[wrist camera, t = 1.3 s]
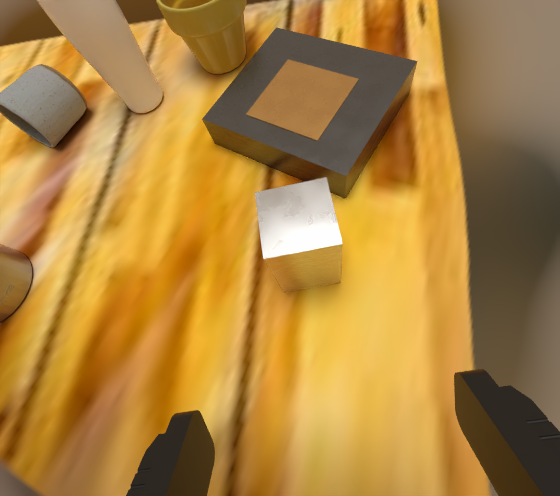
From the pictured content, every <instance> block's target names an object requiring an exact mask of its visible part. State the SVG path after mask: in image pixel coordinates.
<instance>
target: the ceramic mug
mask: <svg viewBox="0 0 560 496" xmlns="http://www.w3.org/2000/svg"><path fill="white" fill-rule="evenodd" d="M86 108H87V103H86V100H85V98H84V96H83V95H82V93H81V92H80V91H79V90H78V88H77V87H76V86H75V85H74V84H73V83H72V82H71V81H70V80H68V79H67V78H66V77H65V76H64V75H62V74H61V73H60V72H58V71H57V70H55V69H53V68H52V67H49V66H47V65H42V64H41V65H37V66H35V67H33V68H31V69H29V70H28V71H26V72H25V73H24V74H23V75H22V76H21V77H20V78H18V79H17V80H16V81H15V82H13V83H12V84H11V85H10V86H8V87H7V88H6V89H4V90H3V91H2V92H1V93H0V113H1V114H2V115H4V116H5V117H6V118H7V119H8V120H9V121H11V122H12V123H13V124H15V125H16V126H17V127H19V128H20V129H21V130H23V131H24V132H25V133H27V134H28V135H30V136H31V137H33V138H34V139H36V140H37V141H39V142H41V143H43V144H44V145H46V146H49V147H55V146H56V145H57V144H58V143H59V142H60V140H61V139H62V138H63V137H64V136H65V135H66V134H67V133H68V131H69V130H70V129H71V127H72V126H73V125H74V124H75V123H76V122H77V121H78V120H79V119H80V118H81V116H82V115H83V114H84V112H85V110H86Z"/></svg>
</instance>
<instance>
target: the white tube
mask: <svg viewBox="0 0 560 496" xmlns="http://www.w3.org/2000/svg"><path fill="white" fill-rule="evenodd" d="M37 2H38V3H39V4H40V6H41V7H42V8H43V10H44V11H45V12H46V14H47V15H48V16H49V18H50V19H51V20H52V21H53V23H54V24H55V25H56V26H57V27H58V29H59V30H60V31H61V33H62V34H63V35H64V36H65V37H66V38H67V40H68V41H69V42H70V43H71V44H72V45H73V46H74V47H75V49H76V50H77V51H78V52H79V53H80V54H81V55H82V56H83V57H84V58H85V59H86V61H87V62H88V63H89V64H90V65H91V66H92V67H93V68H94V69H95V70H96V71H97V72H98V74H99V75H100V76H101V77H102V78H103V79H104V80H105V81H106V82H107V83H108V85H109V86H110V87H111V88H112V89H113V90H114V91H115V92H116V93H117V94H118V96H119V97H120V98H121V99H122V100H123V102H124V103H125V104H126V105H127V107H128V108H129V109H130V110H132V111H133V112H136V113H146V112H149V111H151V110H153V109H154V108H156V107H157V106H158V105H159V104H160V102H161V100H162V97H163V91H162V88H161V87H160V85H159V83H158V82H157V80H156V78H155V76H154V74H153V73H152V71H151V69H150V67H149V65H148V63H147V61H146V59H145V57H144V55H143V53H142V51H141V49H140V47H139V45H138V43H137V41H136V39H135V37H134V35H133V33H132V31H131V29H130V27H129V25H128V23H127V21H126V19H125V17H124V15H123V13H122V11H121V9H120V8H119V6H118V4H117V2H116V0H37Z"/></svg>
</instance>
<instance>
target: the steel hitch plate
mask: <svg viewBox="0 0 560 496" xmlns="http://www.w3.org/2000/svg"><path fill="white" fill-rule="evenodd" d="M416 64H417V61H414V60H410V59H405V58H401V57H397V56H393V55H389V54H384V53H380V52H376V51H372V50H368V49H364V48H359V47H355V46H351V45H347V44H343V43H339V42H334V41H330V40H326V39H322V38H318V37H313V36H309V35H305V34H301V33H297V32H293V31H288V30H284V29H280V28H276V29H275V30H274V31H273V32H272V34H271V35H270V36H269V37H268V39H267V40H266V41H265V42H264V43H263V45H262V46H261V47H260V48H259V50H258V51H257V52H256V53H255V55H254V56H253V57H252V58H251V60H250V61H249V62H248V63H247V64H246V66H245V67H244V68H243V69H242V71H241V72H240V73H239V74H238V76H237V77H236V78H235V79H234V81H233V82H232V83H231V84H230V85H229V87H228V88H227V89H226V90H225V92H224V93H223V94H222V95H221V97H220V98H219V99H218V100H217V101H216V103H215V104H214V105H213V106H212V108H211V109H210V110H209V111H208V113H207V114H206V115H205V116H204V118H203V119H202V120H203V122H204V124H205V125H206V127H207V129H208V131H209V133H210V135H211V137H212V139H213V141H214V143H215V144H218V145H220V146H223V147H225V148H227V149H230V150H232V151H234V152H237V153H239V154H242V155H244V156H246V157H249V158H251V159H253V160H256V161H258V162H261V163H263V164H265V165H268V166H270V167H272V168H275V169H277V170H279V171H282V172H284V173H287V174H289V175H291V176H294V177H296V178H298V179H301V180H303V181H311V180H316V179H320V178H325V177H327V181H328V186H329V190H330V192H332V193H334V194H336V195H339V196H341V197H344V198H346V197H347V195H348V193H349V192H350V190H351V188H352V187H353V185H354V183H355V182H356V180H357V178H358V177H359V175H360V173H361V172H362V170H363V168H364V167H365V165H366V163H367V162H368V160H369V159H370V157H371V155H372V154H373V152H374V150H375V149H376V147H377V145H378V144H379V142H380V140H381V139H382V137H383V135H384V134H385V132H386V130H387V129H388V127H389V125H390V124H391V122H392V120H393V119H394V117H395V116H396V114H397V112H398V111H399V109H400V107H401V106H402V104H403V102H404V101H405V99H406V97H407V96H408V94H409V92H410V88H411V84H412V80H413V76H414V72H415V68H416Z"/></svg>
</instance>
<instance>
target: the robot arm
mask: <svg viewBox="0 0 560 496" xmlns="http://www.w3.org/2000/svg"><path fill="white" fill-rule="evenodd" d="M31 279H32V266H31V263H30V261H29V259H28V258H27V256H26V255H24V254H23V253H21V252H19V251H16V250H14V249H11V248H9V247H6V246H4V245H1V244H0V322H1V321H3V320H4V319H6V318H7V317H8V316H9V315H11V314H12V313H13V312H14V311H15V310H16V309H17V308H18V306H19V305H20V304H21V302H22V301H23V299H24V298H25V296H26V294H27V292H28V290H29V287H30V284H31ZM454 387H455V411H456V416H457V419H458V422H459V425H460V427H461V430H462V432H463V433H464V435H465V437H466V439H467V441H468V442H469V444H470V446H471V448H472V450H473V451H474V453H475V455H476V457H477V458H478V460H479V462H480V464H481V466H482V467H483V469H484V471H485V473H486V474H487V476H488V478H489V480H490V482H491V483H492V485H493V487H494V489H495V490H496V492H497V494H498V495H499V496H560V432H559V431H558V429H557V428H556V427H555V426H554V425H553V424H552V423H551V422H549V421H548V419H547V417H546V416H545V415H544V414H543V412H542V411H541V410H540V409H539V408H538V407H537V406H536V404H535V403H534V402H533V401H532V400H531V399H529V398H528V397H526V396H525V395H524V394H522V393H521V392H519V391H518V390H516V389H515V388H513V387H512V386H503V387H499V386H498V385H497V384H496V383H495V381H494V380H493V379H492V378H491V376H490V375H489V374H488V373H487V372H486V371H485V370H484V369H478V370H471V371H464V372H457V373H455V375H454ZM214 459H215V449H214V443H213V440H212V438H211V435H210V433H209V431H208V429H207V426H206V424H205V422H204V419H203V417H202V415H201V413H200V411H198V410H196V411H189V412H182V413H176V414H174V415H173V416H172V418H171V420H170V423H169V425H168V428H167V430H166V433H165V434H159V435H158V436H157V437H156V439H155V440H154V441H153V442H152V444H151V445H150V446H149V448H148V449H147V450H146V452H145V454H144V456H143V458H142V461H141V463H140V465H139V468H138V473H137V474H135V477H134V479H133V481H132V484H131V489H130V490H128V493H127V495H126V496H207V493H208V488H209V484H210V479H211V475H212V470H213V466H214Z"/></svg>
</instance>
